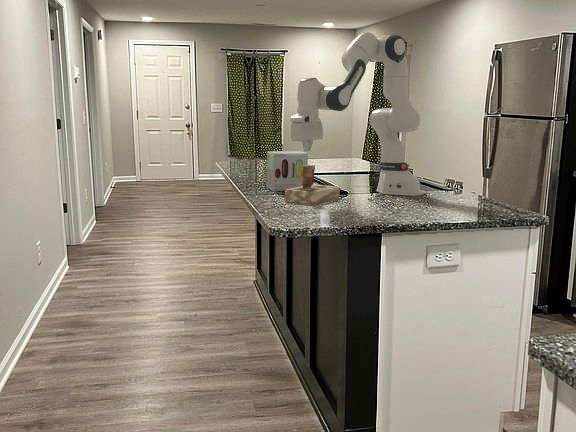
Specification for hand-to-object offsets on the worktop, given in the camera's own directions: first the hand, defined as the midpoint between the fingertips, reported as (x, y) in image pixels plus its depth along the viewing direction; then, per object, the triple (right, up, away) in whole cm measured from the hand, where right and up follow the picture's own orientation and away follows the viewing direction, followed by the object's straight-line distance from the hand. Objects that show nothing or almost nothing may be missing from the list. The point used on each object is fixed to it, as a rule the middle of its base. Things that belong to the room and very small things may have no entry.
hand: (307, 151), depth 245 cm
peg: (0, -20, +4) cm, 20 cm away
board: (+3, -20, +8) cm, 22 cm away
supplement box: (-9, -14, +39) cm, 43 cm away
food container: (0, -10, +59) cm, 60 cm away
